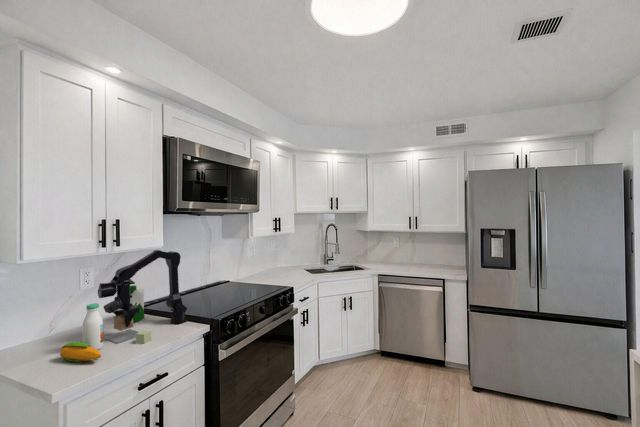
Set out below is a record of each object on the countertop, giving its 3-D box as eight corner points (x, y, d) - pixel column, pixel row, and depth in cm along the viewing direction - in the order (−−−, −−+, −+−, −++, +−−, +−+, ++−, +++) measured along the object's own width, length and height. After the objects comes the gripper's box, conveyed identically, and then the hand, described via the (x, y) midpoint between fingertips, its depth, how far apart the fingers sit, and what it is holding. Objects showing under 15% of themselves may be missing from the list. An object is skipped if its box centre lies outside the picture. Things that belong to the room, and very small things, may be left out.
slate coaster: (129, 330, 168) (129, 329, 168) (144, 334, 161) (144, 333, 161) (102, 338, 157) (102, 337, 157) (117, 343, 150) (117, 342, 150)
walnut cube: (126, 324, 163) (126, 313, 163) (133, 326, 160) (133, 314, 160) (114, 328, 158) (113, 316, 158) (120, 330, 155) (120, 318, 155)
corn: (71, 336, 139) (108, 340, 134) (73, 353, 139) (110, 358, 134) (53, 344, 132) (92, 349, 127) (55, 362, 132) (93, 368, 127)
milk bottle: (96, 352, 141) (96, 306, 141) (78, 352, 140) (77, 307, 140) (107, 345, 149) (106, 301, 149) (89, 345, 148) (89, 302, 148)
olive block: (142, 339, 155) (142, 330, 155) (150, 340, 154) (150, 331, 154) (135, 343, 150) (135, 333, 150) (144, 344, 150) (144, 334, 150)
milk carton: (122, 322, 180) (122, 287, 180) (133, 317, 189) (133, 283, 189) (137, 323, 179) (136, 287, 179) (147, 317, 188) (147, 283, 188)
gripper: (96, 295, 157) (96, 327, 157) (116, 300, 147) (116, 334, 147) (119, 290, 166) (120, 320, 166) (140, 295, 157) (140, 326, 157)
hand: (123, 325), depth 159 cm, fingers closed on walnut cube, 6 cm apart
